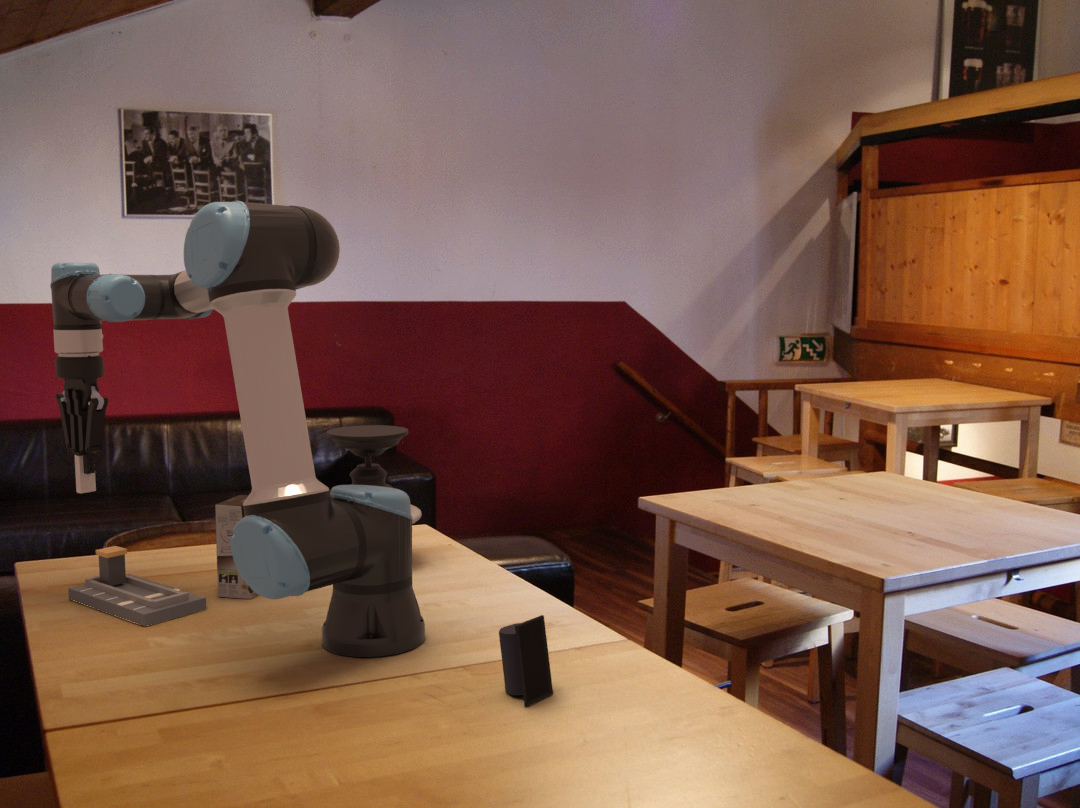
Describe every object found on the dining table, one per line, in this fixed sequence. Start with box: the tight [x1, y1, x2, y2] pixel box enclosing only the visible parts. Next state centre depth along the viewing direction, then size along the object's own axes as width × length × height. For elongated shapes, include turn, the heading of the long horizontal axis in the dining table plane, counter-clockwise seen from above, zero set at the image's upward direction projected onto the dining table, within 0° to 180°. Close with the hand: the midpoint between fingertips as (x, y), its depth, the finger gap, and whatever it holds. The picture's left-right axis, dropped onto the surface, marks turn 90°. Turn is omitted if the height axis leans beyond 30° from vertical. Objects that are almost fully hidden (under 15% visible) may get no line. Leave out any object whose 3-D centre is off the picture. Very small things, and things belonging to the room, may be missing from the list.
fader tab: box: [95, 545, 128, 586], centre depth 176 cm, size 4×4×6 cm
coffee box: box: [214, 494, 259, 600], centre depth 179 cm, size 9×6×16 cm
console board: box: [67, 573, 208, 627], centre depth 172 cm, size 23×11×3 cm, turn 52°
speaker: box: [498, 614, 554, 708], centre depth 135 cm, size 8×6×10 cm
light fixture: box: [326, 424, 423, 525], centre depth 196 cm, size 20×20×25 cm
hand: (86, 491), depth 179 cm, fingers closed
